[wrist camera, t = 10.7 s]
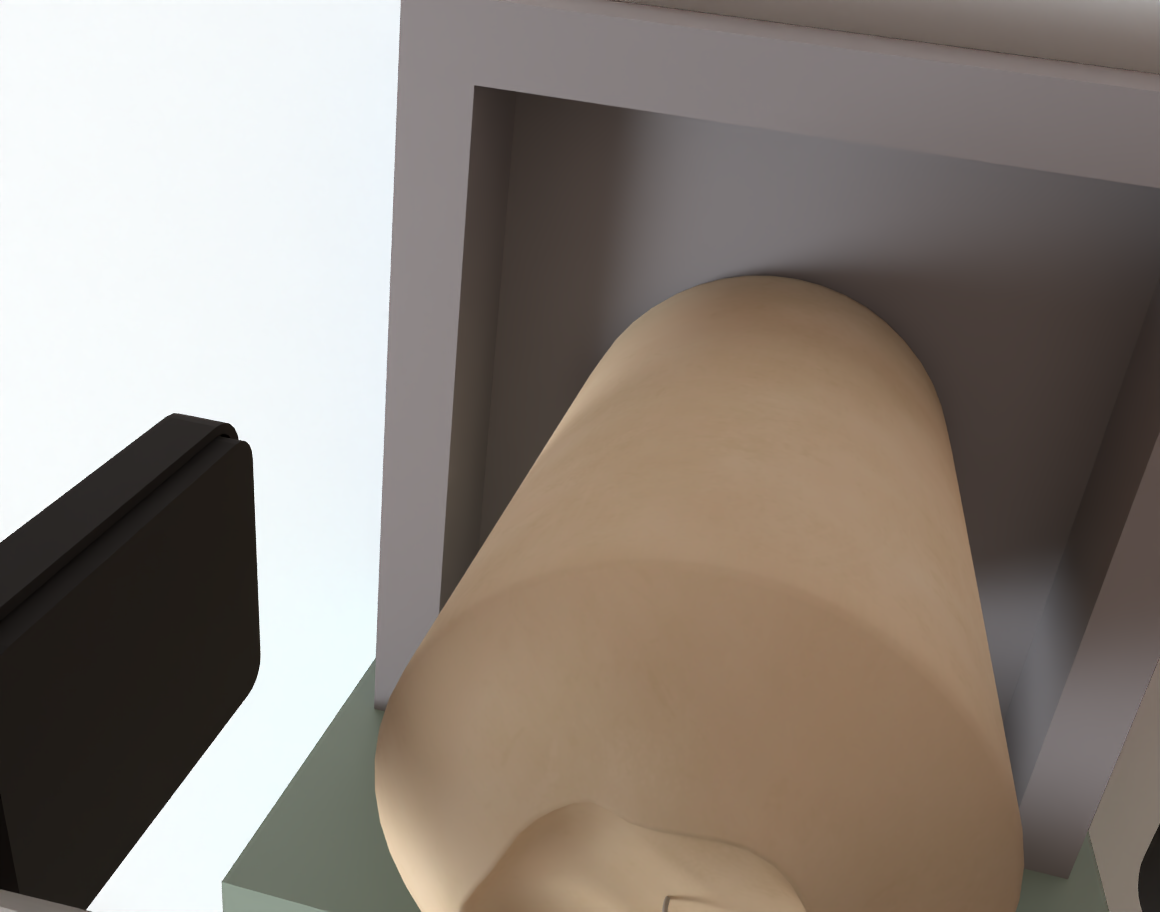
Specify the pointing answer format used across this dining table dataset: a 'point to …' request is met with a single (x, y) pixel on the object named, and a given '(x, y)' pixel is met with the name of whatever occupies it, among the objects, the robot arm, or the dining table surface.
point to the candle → (717, 643)
